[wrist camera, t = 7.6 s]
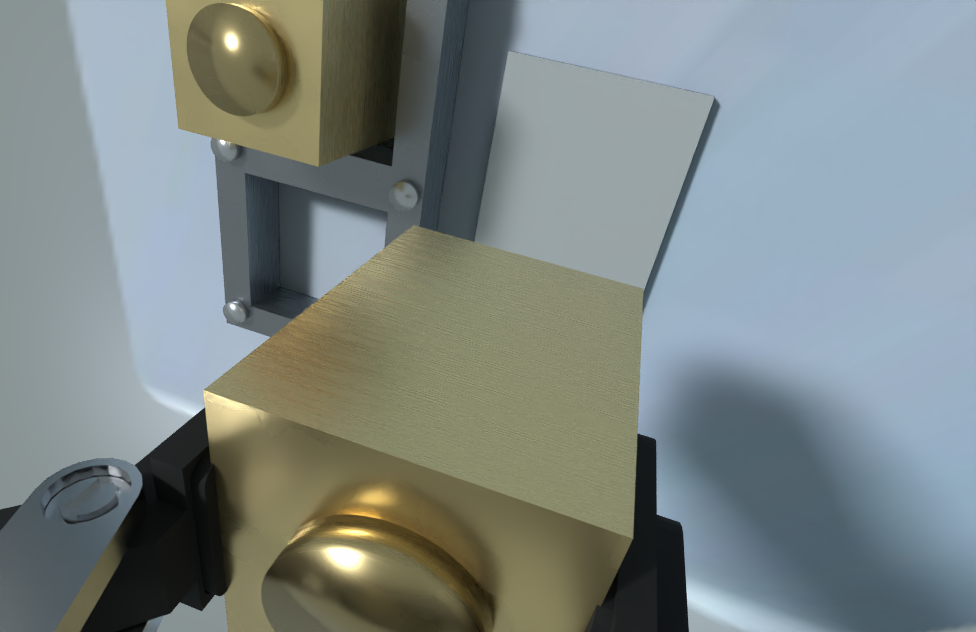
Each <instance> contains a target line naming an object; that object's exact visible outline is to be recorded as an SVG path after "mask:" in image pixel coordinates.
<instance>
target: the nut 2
mask: <svg viewBox="0 0 976 632" xmlns="http://www.w3.org/2000/svg"><path fill="white" fill-rule="evenodd" d="M642 312H643V288H639V287H636V286H632V285H628V284H625V283H621V282H618V281H614V280H610V279H607V278H603V277H599V276H596V275H592V274H589V273H585V272H581V271H578V270H574V269H571V268H567V267H563V266H560V265H556V264H553V263H549V262H545V261H542V260H538V259H534V258H531V257H527V256H524V255H520V254H516V253H513V252H509V251H506V250H502V249H498V248H495V247H491V246H488V245H484V244H480V243H477V242H473V241H469V240H466V239H462V238H459V237H455V236H451V235H448V234H444V233H441V232H437V231H433V230H430V229H426V228H423V227H419V226H415V225H413V226H412V227H411V228H409V229H408V230H407V231H405V232H404V233H403V234H402V235H400V236H399V237H398V238H397V239H395V240H394V241H393V242H391V243H390V244H389V245H388V246H386V247H385V248H384V249H383V250H381V251H380V252H379V253H377V254H376V255H375V256H374V257H372V258H371V259H370V260H369V261H367V262H366V263H365V264H363V265H362V266H361V267H360V268H358V269H357V270H356V271H355V272H353V273H352V274H351V275H349V276H348V277H347V278H346V279H344V280H343V281H342V282H341V283H339V284H338V285H337V286H335V287H334V288H333V289H332V290H330V291H329V292H328V293H327V294H325V295H324V296H323V297H321V298H320V299H319V300H318V301H316V302H315V303H314V304H313V305H311V306H310V307H309V308H307V309H306V310H305V311H304V312H302V313H301V314H300V315H299V316H297V317H296V318H295V319H293V320H292V321H291V322H290V323H288V324H287V325H286V326H285V327H283V328H282V329H281V330H279V331H278V332H277V333H276V334H274V335H273V336H272V337H271V338H269V339H268V340H267V341H265V342H264V343H263V344H262V345H260V346H259V347H258V348H257V349H255V350H254V351H253V352H251V353H250V354H249V355H248V356H246V357H245V358H244V359H243V360H241V361H240V362H239V363H237V364H236V365H235V366H234V367H232V368H231V369H230V370H229V371H227V372H226V373H225V374H223V375H222V376H221V377H220V378H218V379H217V380H216V381H215V382H213V383H212V384H211V385H209V386H208V387H207V388H206V389H204V390H203V392H204V402H205V412H206V421H207V431H208V441H209V450H210V460H211V463H212V464H214V468H215V478H216V488H217V499H218V509H219V519H220V529H221V539H222V549H223V559H224V569H225V579H226V590H227V592H226V593H225V594H224V595H225V605H226V614H227V624H228V632H584V631H585V629H586V627H587V625H588V623H589V621H590V619H591V616H592V614H593V612H594V610H595V608H596V606H597V605H599V606H601V605H602V603H603V601H604V599H605V597H606V594H607V592H608V590H609V588H610V586H611V584H612V582H613V580H614V578H615V576H616V573H617V571H618V569H619V567H620V565H621V563H622V561H623V559H624V557H625V555H626V552H627V550H628V548H629V546H630V544H631V542H632V540H633V528H634V504H635V480H636V456H637V432H638V408H639V384H640V360H641V336H642Z"/></svg>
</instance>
